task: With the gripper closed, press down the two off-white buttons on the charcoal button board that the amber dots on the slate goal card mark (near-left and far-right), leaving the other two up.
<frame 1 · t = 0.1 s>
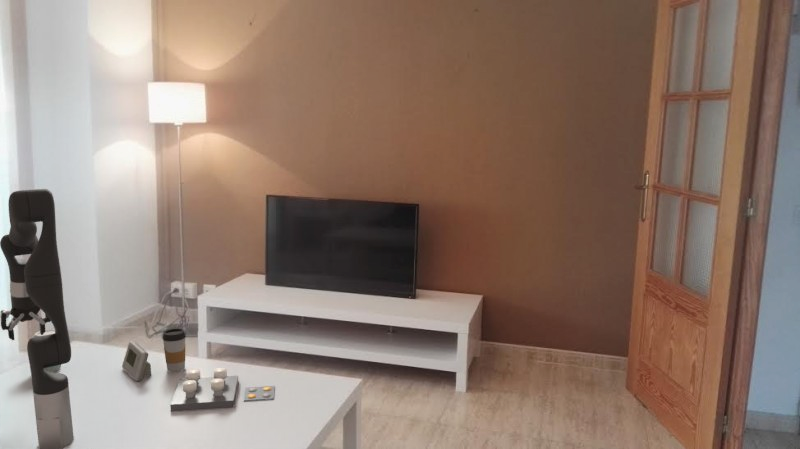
hand: (27, 336, 217), 22 cm above the table, tool pointing down, fingers open, 8 cm apart
disposable coffee cup: (52, 369, 246), on the table
digital clock: (136, 374, 242), on the table
board: (206, 396, 224), on the table
button d: (220, 377, 228), point 4 cm above the table, slide at 0.0 cm
goal card: (259, 393, 226), on the table
button b: (217, 388, 220), point 5 cm above the table, slide at 0.0 cm
button c: (193, 379, 227), point 5 cm above the table, slide at 0.0 cm
button a: (190, 390, 218), point 5 cm above the table, slide at 0.0 cm
coffee cup: (176, 369, 246), on the table
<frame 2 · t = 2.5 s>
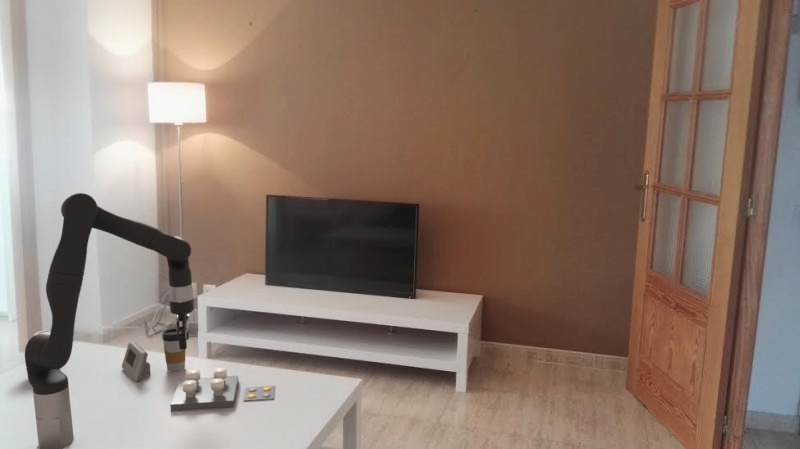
hand: (184, 344, 217), 20 cm above the table, tool pointing down, fingers open, 8 cm apart
nothing on the table moved.
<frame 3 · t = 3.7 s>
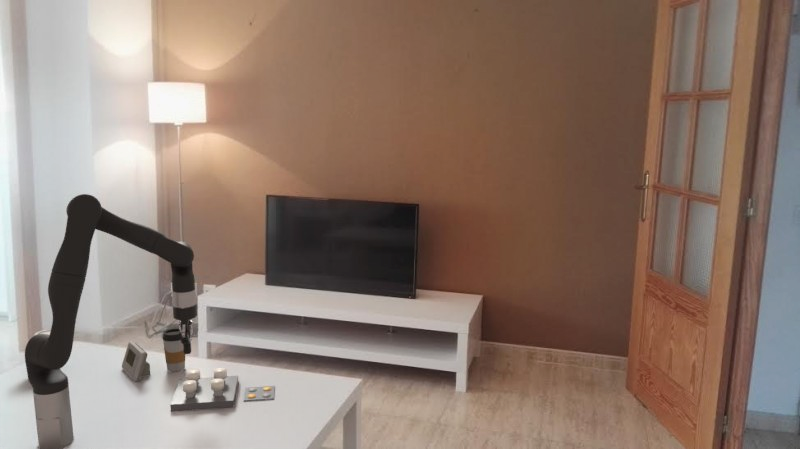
hand: (187, 353, 216), 18 cm above the table, tool pointing down, fingers closed
nothing on the table moved.
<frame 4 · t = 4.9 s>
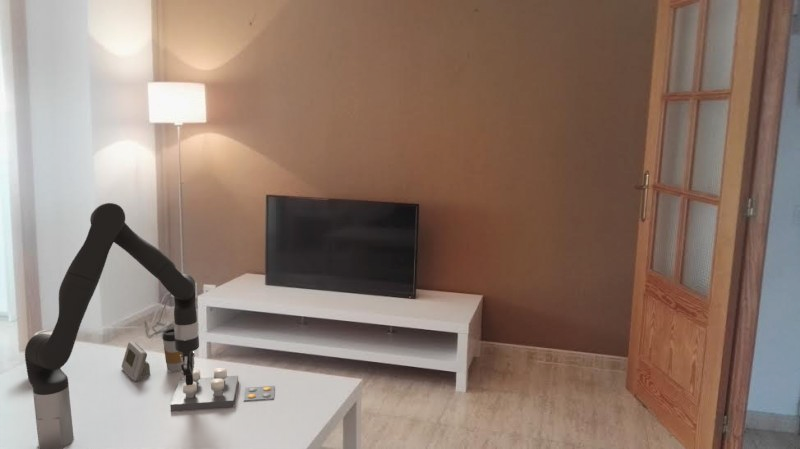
hand: (189, 384, 218), 7 cm above the table, tool pointing down, fingers closed
button a: (190, 391, 218), point 4 cm above the table, slide at 0.5 cm, touching gripper
everything else where it was.
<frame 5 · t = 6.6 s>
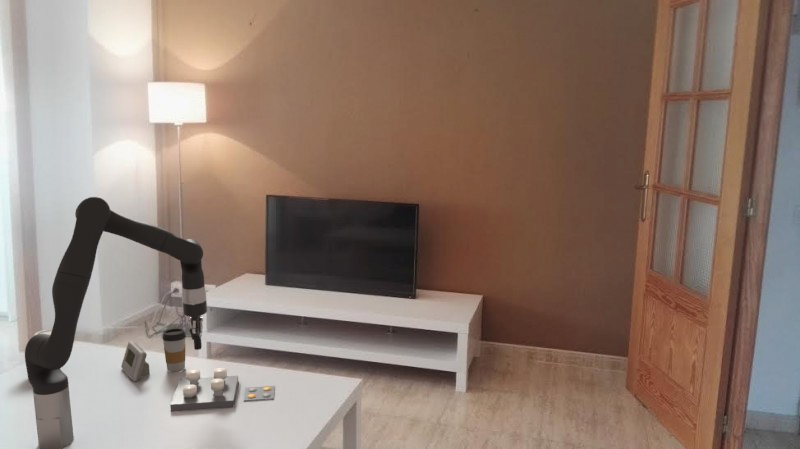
hand: (198, 348, 219), 18 cm above the table, tool pointing down, fingers closed
button a: (190, 394, 219), point 3 cm above the table, slide at 1.6 cm
everything else where it was.
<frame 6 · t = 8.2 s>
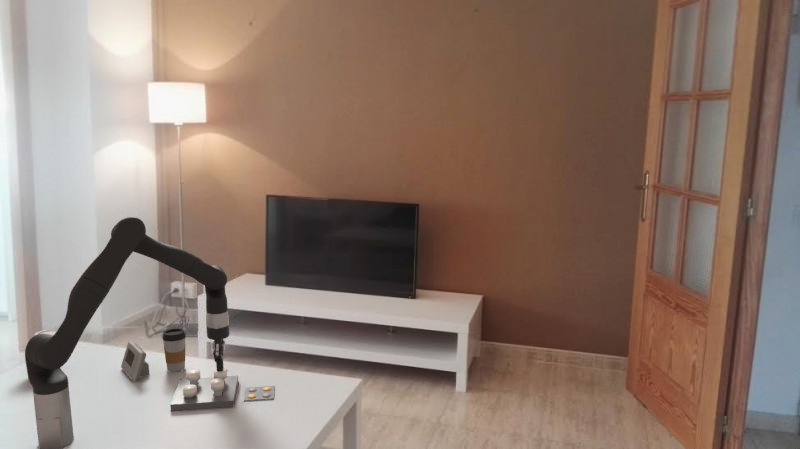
hand: (220, 370, 228), 7 cm above the table, tool pointing down, fingers closed
button d: (220, 378, 228), point 4 cm above the table, slide at 0.1 cm, touching gripper
everything else where it was.
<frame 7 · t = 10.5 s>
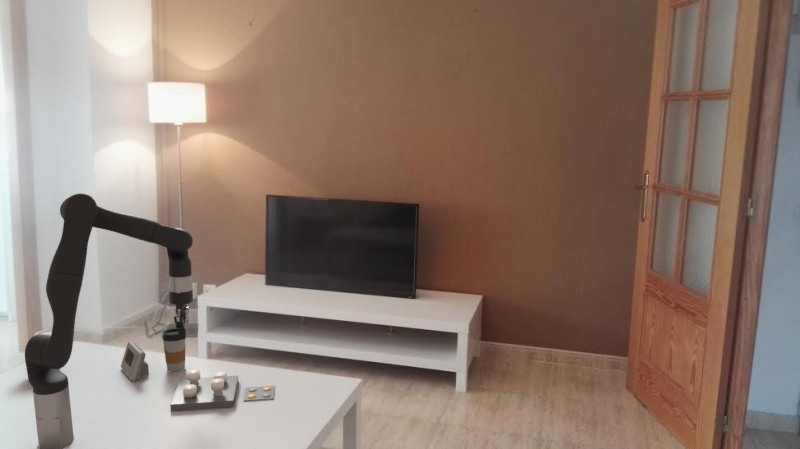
hand: (182, 338, 219), 21 cm above the table, tool pointing down, fingers closed
button d: (220, 381, 229), point 3 cm above the table, slide at 1.6 cm
everything else where it was.
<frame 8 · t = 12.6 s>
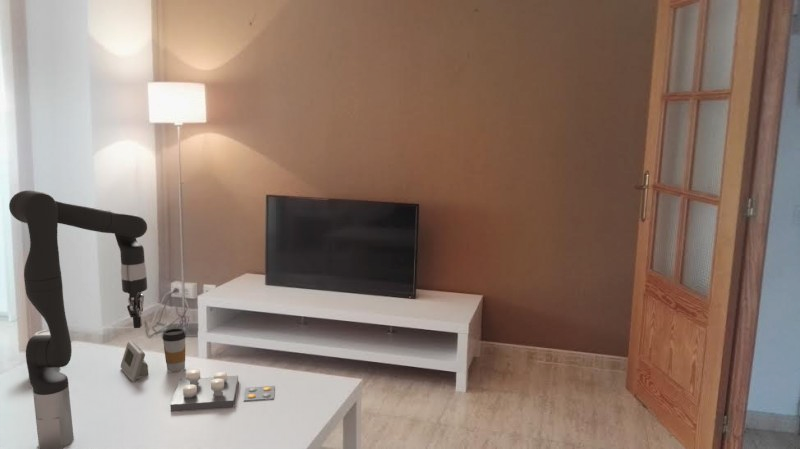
hand: (137, 327, 213), 27 cm above the table, tool pointing down, fingers closed
nothing on the table moved.
at the end: button a slide at 1.6 cm; button d slide at 1.6 cm; button b slide at 0.0 cm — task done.
